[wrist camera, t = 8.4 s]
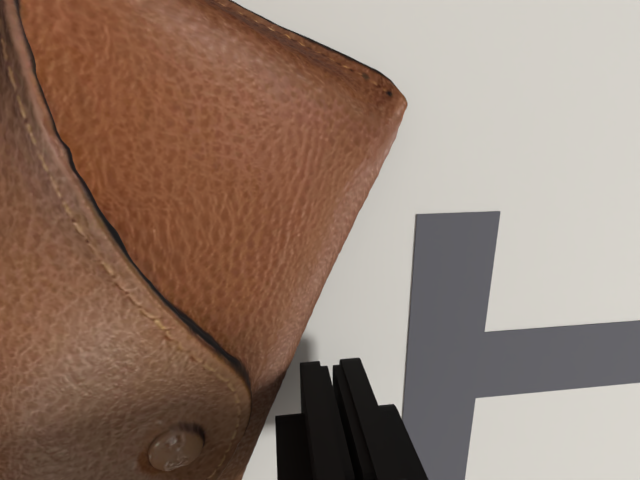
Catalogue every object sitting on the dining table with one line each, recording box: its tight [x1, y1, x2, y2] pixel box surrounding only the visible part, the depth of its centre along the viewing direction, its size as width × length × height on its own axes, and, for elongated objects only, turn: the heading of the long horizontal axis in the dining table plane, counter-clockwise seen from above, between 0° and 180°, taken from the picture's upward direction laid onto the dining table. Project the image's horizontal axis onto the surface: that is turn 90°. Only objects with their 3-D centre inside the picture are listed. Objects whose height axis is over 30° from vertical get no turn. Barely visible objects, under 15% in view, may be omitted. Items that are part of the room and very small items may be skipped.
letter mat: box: [232, 0, 640, 480], centre depth 13 cm, size 22×22×1 cm
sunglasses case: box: [0, 0, 408, 480], centre depth 10 cm, size 18×7×7 cm
